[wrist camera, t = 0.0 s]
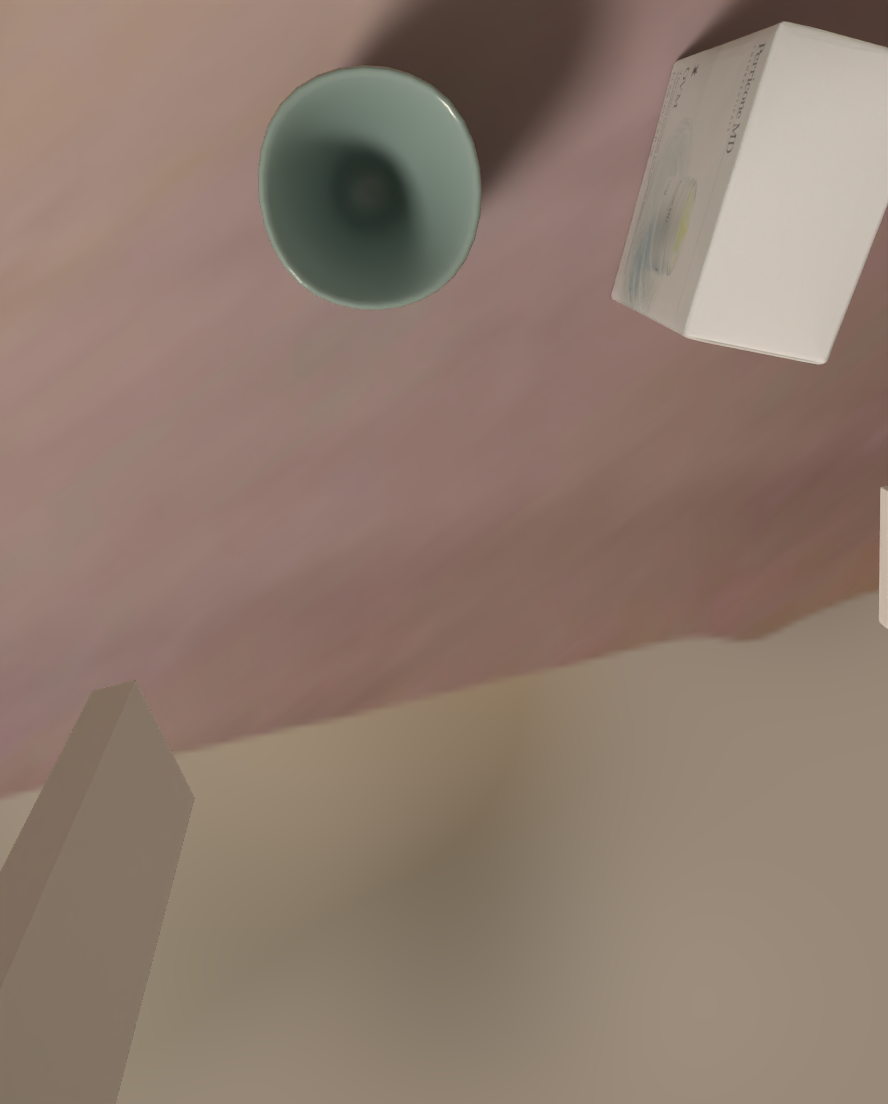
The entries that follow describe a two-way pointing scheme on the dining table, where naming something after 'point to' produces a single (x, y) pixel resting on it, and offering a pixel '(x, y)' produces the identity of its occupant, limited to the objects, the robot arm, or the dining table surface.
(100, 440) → the dining table surface
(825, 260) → the skincare box
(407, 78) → the cup
